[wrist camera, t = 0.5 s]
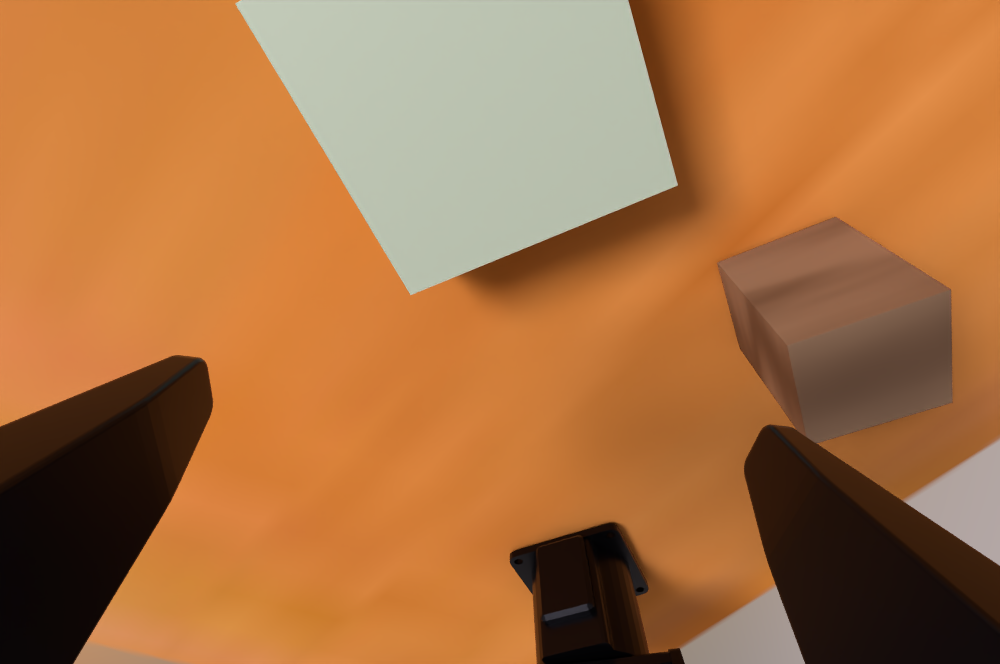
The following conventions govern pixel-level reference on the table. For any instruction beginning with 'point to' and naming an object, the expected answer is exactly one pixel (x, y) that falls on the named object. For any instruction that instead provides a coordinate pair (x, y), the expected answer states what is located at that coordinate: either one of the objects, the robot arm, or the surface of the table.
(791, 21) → the table surface
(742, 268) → the walnut block
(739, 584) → the table surface
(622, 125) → the sage base block
